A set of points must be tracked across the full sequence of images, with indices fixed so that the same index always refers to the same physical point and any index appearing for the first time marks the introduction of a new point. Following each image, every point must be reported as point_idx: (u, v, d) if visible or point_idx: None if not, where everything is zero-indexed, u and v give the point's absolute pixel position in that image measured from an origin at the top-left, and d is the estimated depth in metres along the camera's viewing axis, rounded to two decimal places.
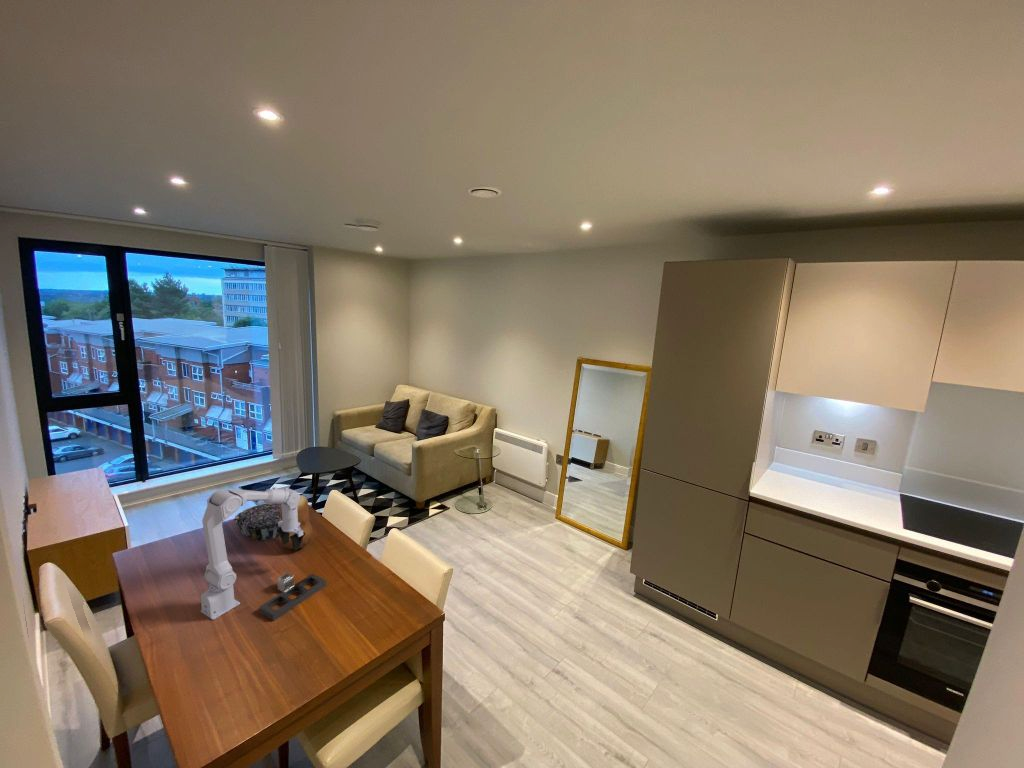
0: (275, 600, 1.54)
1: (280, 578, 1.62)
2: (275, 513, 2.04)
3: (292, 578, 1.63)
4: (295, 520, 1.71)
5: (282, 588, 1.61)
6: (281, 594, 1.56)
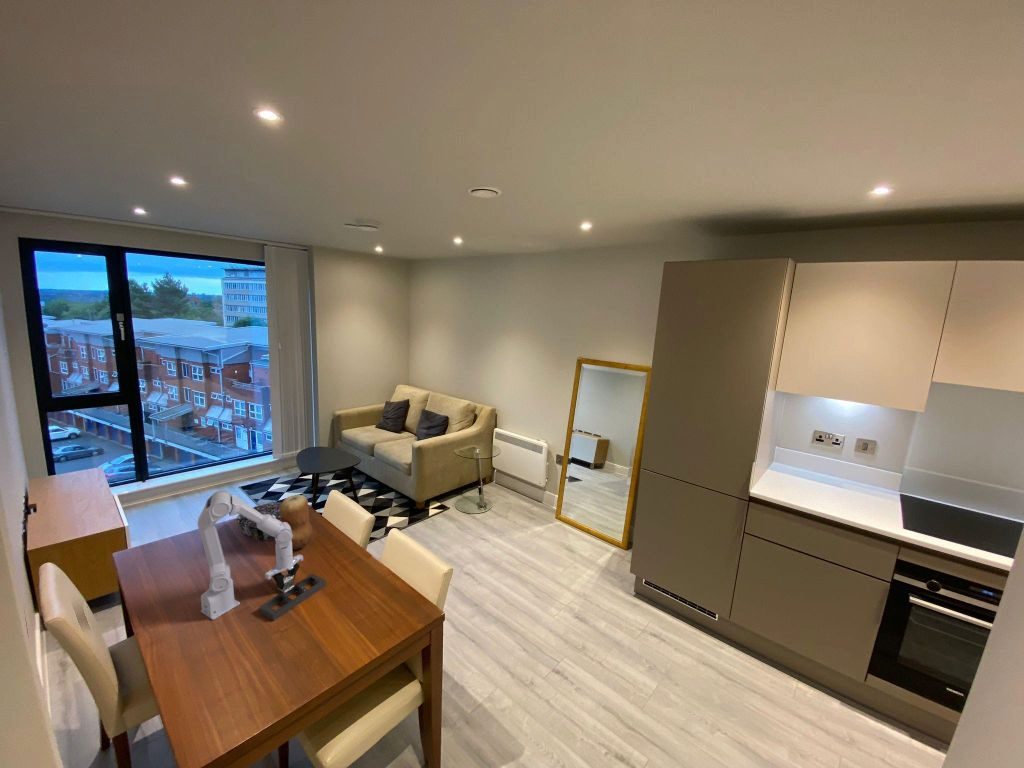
0: (275, 600, 1.54)
1: None
2: (277, 513, 2.04)
3: (292, 578, 1.63)
4: (278, 560, 1.58)
5: None
6: (281, 594, 1.56)
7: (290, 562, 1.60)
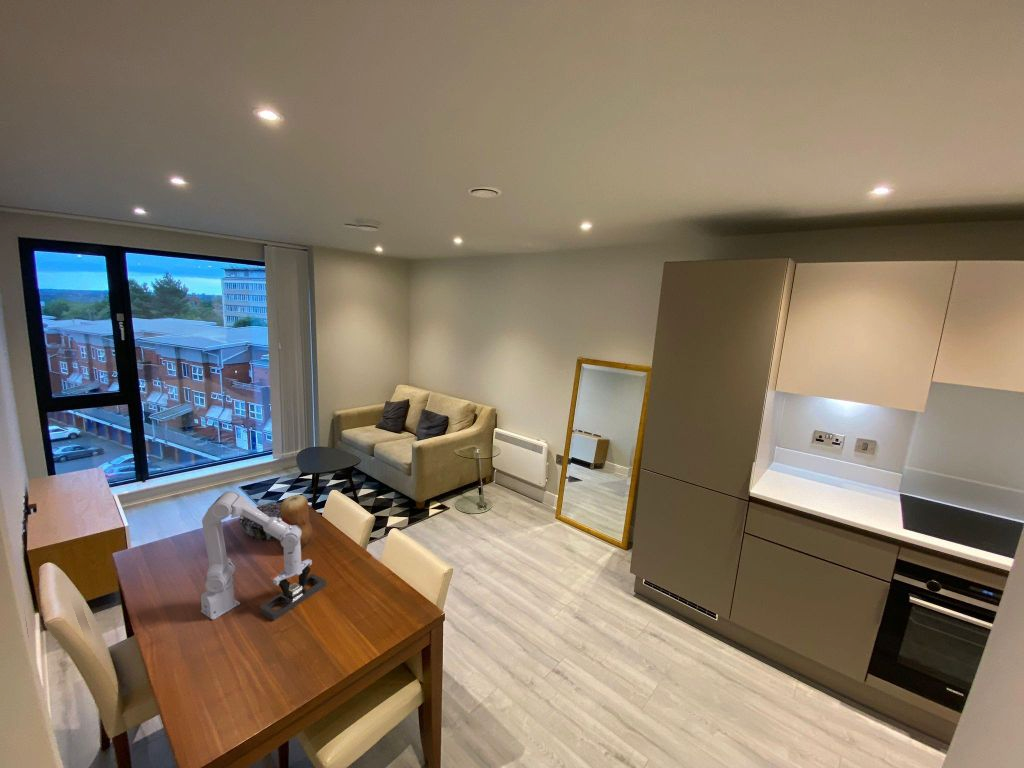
0: (275, 600, 1.54)
1: None
2: (279, 513, 2.04)
3: (301, 588, 1.58)
4: (287, 565, 1.53)
5: (290, 598, 1.56)
6: (281, 594, 1.56)
7: (298, 567, 1.55)
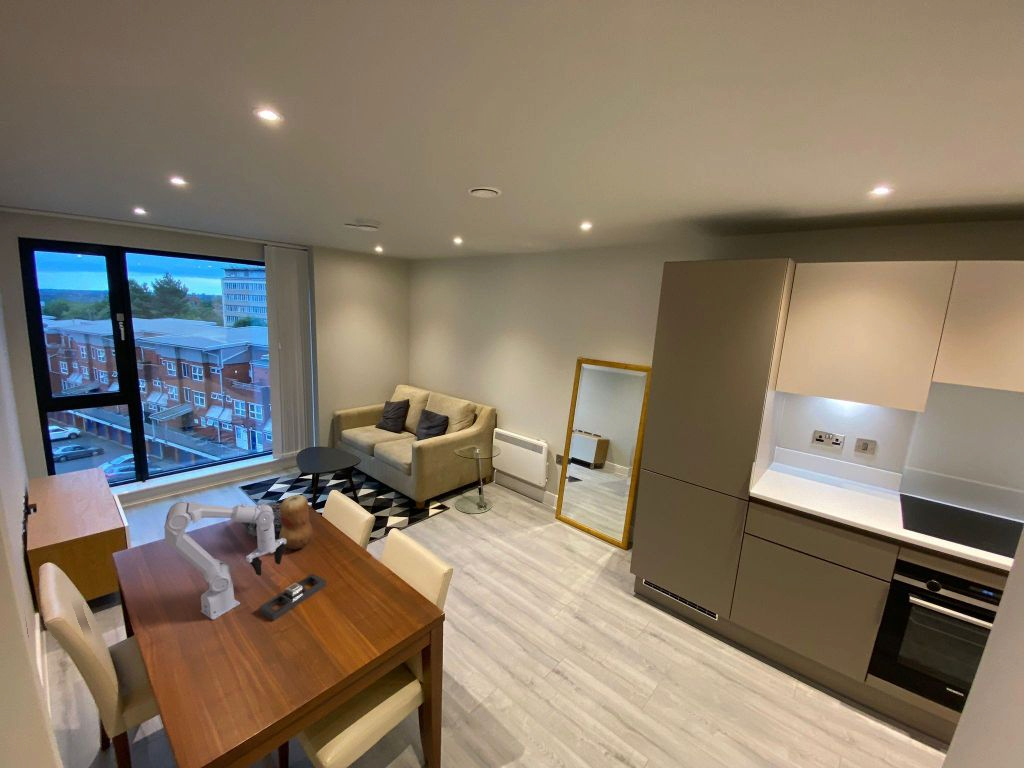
0: (275, 600, 1.54)
1: (288, 588, 1.56)
2: None
3: (301, 588, 1.58)
4: (260, 543, 1.53)
5: (290, 598, 1.56)
6: (281, 594, 1.56)
7: (272, 545, 1.56)
